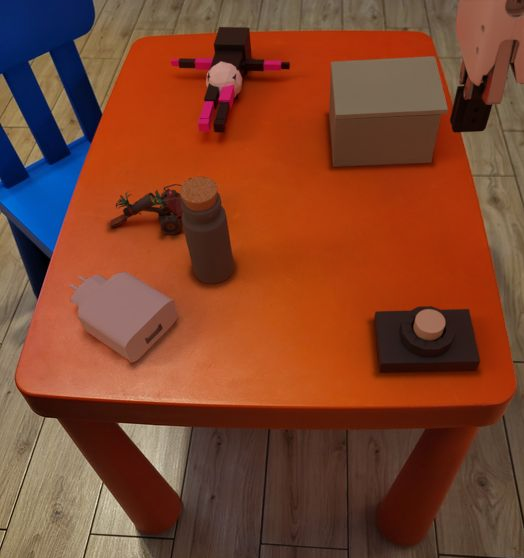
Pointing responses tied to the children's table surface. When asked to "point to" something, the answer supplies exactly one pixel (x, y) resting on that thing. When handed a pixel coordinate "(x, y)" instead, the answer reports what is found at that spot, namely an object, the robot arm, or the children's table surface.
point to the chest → (382, 138)
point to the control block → (425, 343)
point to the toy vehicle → (154, 209)
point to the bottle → (206, 230)
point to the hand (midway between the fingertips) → (466, 126)
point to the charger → (123, 312)
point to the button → (429, 324)
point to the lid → (387, 88)
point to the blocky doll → (226, 73)
